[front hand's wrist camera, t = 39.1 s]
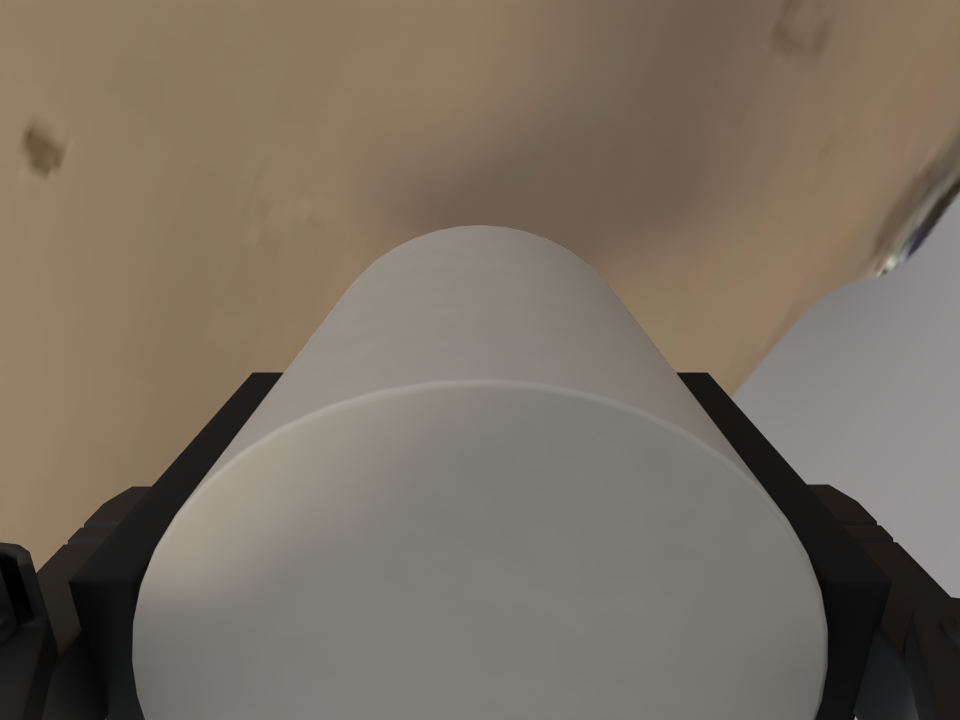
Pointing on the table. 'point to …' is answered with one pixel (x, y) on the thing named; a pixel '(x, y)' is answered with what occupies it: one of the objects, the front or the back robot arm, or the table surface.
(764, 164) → the table surface
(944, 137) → the table surface
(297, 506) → the can
